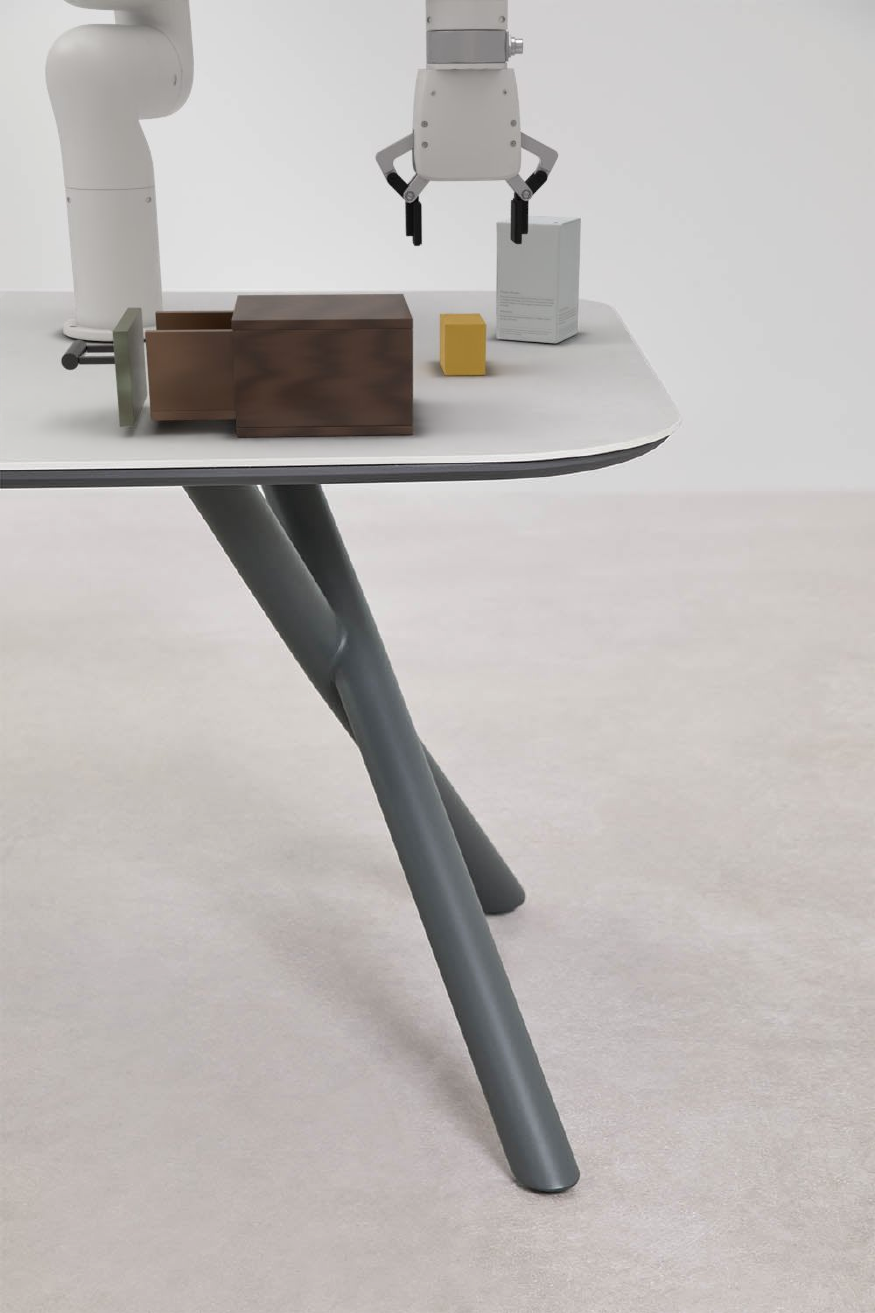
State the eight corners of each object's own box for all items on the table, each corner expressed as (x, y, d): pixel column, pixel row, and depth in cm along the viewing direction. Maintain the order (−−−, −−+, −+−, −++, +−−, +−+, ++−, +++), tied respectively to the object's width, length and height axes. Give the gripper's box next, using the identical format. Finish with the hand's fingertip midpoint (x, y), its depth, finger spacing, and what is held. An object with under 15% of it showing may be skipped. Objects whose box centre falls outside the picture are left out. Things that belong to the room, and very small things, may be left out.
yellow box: (439, 363, 152) (439, 313, 150) (478, 362, 152) (479, 313, 150) (444, 375, 147) (445, 324, 145) (485, 375, 147) (486, 323, 145)
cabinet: (236, 437, 124) (231, 320, 120) (242, 403, 135) (237, 294, 132) (413, 434, 125) (413, 318, 121) (403, 400, 136) (403, 293, 133)
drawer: (61, 427, 123) (52, 331, 120) (80, 396, 133) (72, 307, 130) (284, 424, 124) (281, 329, 121) (286, 394, 135) (283, 306, 132)
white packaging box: (579, 333, 168) (584, 216, 163) (556, 345, 161) (560, 223, 157) (518, 328, 170) (521, 213, 166) (493, 339, 164) (495, 220, 159)
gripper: (553, 51, 142) (549, 237, 149) (371, 53, 141) (375, 240, 147) (566, 51, 135) (561, 246, 142) (374, 53, 134) (379, 249, 141)
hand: (466, 243), depth 145 cm, fingers open, 9 cm apart
